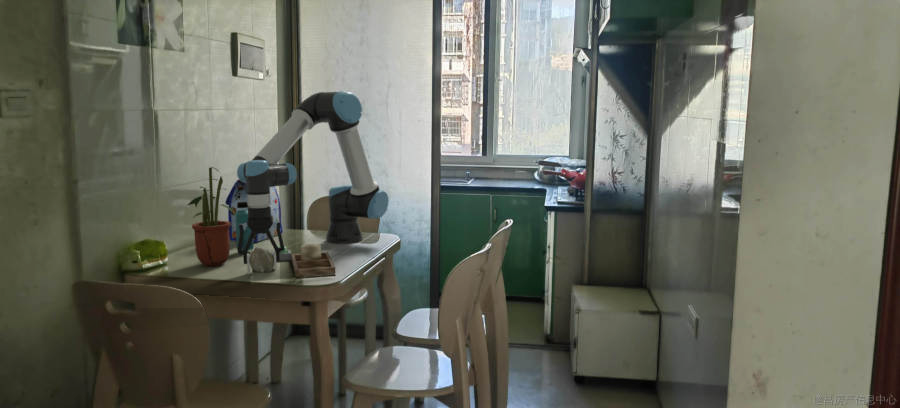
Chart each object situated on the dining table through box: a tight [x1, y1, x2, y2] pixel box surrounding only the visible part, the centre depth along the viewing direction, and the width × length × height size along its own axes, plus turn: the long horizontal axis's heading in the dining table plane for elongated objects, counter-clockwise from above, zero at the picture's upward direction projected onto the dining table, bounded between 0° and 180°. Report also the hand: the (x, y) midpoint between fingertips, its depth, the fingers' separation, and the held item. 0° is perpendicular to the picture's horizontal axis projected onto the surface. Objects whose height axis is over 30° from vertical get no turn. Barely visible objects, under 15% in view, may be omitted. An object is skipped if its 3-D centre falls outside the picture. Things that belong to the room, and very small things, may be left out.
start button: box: [277, 245, 288, 253], centre depth 254 cm, size 4×4×4 cm
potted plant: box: [187, 166, 236, 267], centre depth 246 cm, size 17×16×35 cm
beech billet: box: [300, 243, 322, 261], centre depth 247 cm, size 7×7×6 cm
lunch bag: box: [225, 179, 283, 243], centre depth 299 cm, size 23×17×27 cm
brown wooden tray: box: [291, 251, 336, 280], centre depth 241 cm, size 13×25×3 cm, turn 16°
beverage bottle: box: [235, 202, 255, 251], centre depth 269 cm, size 6×7×20 cm
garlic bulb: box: [249, 246, 274, 273], centre depth 236 cm, size 9×8×10 cm
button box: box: [270, 249, 293, 262], centre depth 254 cm, size 7×7×4 cm
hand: (262, 272), depth 237 cm, fingers closed on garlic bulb, 8 cm apart
